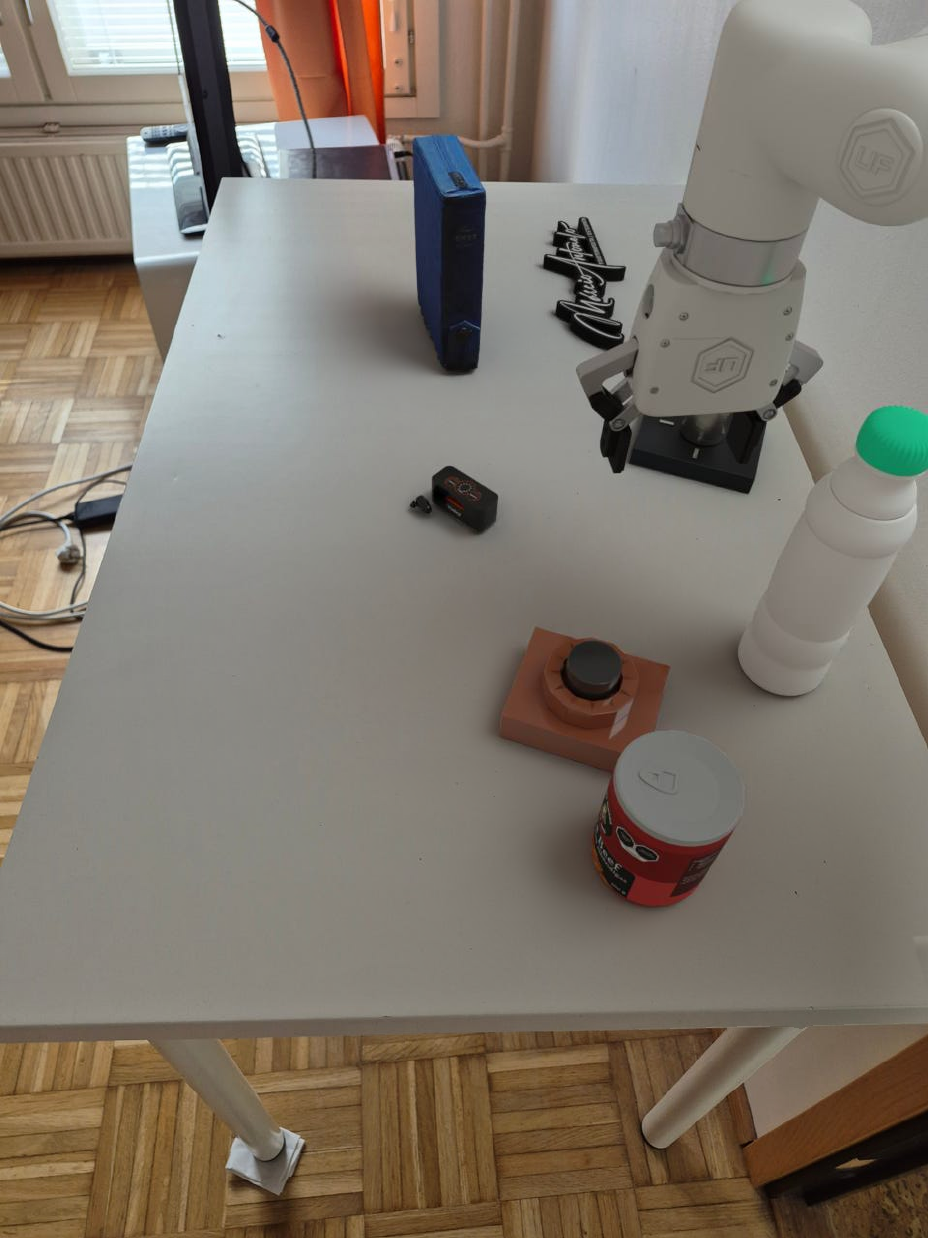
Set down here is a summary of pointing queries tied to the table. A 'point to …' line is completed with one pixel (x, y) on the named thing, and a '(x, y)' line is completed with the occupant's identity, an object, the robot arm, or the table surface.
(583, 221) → the nameplate
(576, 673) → the button
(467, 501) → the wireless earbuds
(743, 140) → the robot arm
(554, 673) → the push button box
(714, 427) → the dial
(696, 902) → the table surface
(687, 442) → the panel
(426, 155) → the book
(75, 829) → the table surface
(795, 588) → the water bottle
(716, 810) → the canned food
